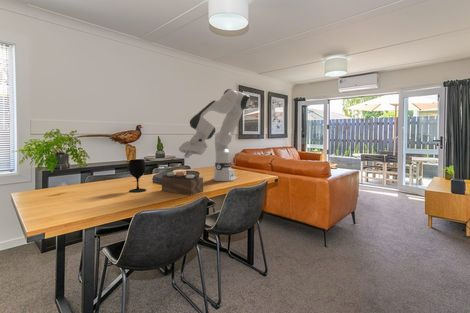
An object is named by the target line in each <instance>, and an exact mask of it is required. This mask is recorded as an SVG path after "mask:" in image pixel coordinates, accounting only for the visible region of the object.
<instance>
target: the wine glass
mask: <svg viewBox="0 0 470 313" xmlns="http://www.w3.org/2000/svg"><path fill="white" fill-rule="evenodd" d="M146 169H147V165H146V161H145V159H143V158H141V159H139V158H137V159H130V160H129V162H128V172H129V174H130V175H131V176H132V177H133V178H135V179H136V180H135V181H136V188H132V189H129V192H130V193H133V194H134V193H143V192H146V191H147V189H146V188H140V186H139V180H140V178H141V177H143V176H144V174H145V172H146Z"/></svg>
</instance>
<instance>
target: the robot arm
mask: <svg viewBox="0 0 470 313" xmlns="http://www.w3.org/2000/svg"><path fill="white" fill-rule="evenodd" d="M251 100H252V98H251V96H250V95H248V94H247V93H243V92H242V91H238V90H235V89H231V88H227V89H226V90H225V91H224V92H223V94H222V96H221V97H220V98H219V99H218V100H212V101H210V102H209V103H208V104H207V105H206V106H205V107H203V108H202V109H201V110H200V111H199V112H198V113H196V114H194V115H193V116H192V117H191V118H190V120H189V126H190V127H191V128H192V129H193V130H195V131H196V132H195V133H194V135H193V136H192V137H191V138H190V140H189V141H188V140H187V141H184V142H183V143H182V144H181V145H180V146H179V147H178V151H179V152H180V153H182V154H184V155H183V157H184V158H186V159H189V158H190V157H191V156H192V155H200V156H201V155H202V156H203V154H204V153H205V151H206V149H207V148H208V144H207V143H206V140H211V139H212V137H213V136H214V149H215V162H214V170H213V176H212V180H213V181H216V182H233V181H235V180H237V179H239V178H238V176H236V172H235V170H234V169H233V168H232V167H231V166H232V165H233V162H230V157H231V156H230V147H229V144H231V142H232V139H233V136H234V134H235V131H236V128H237V126H238V123H239V122H240V119H241V117H242V114H243V111H244V110H245V109H248V107H250V105H251V103H252V102H251ZM209 112H216V113H218V114H222V115H224V114H225V117H224V119H223V121H222V124H221V127H220V130H219V131H217V132H216V127H215V126H214V125H213V124H212V123H211V122H210V121H208V120H207V119H205V118H204V116H205V115H206V114H208V113H209Z"/></svg>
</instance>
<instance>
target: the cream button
mask: <svg viewBox="0 0 470 313" xmlns="http://www.w3.org/2000/svg"><path fill="white" fill-rule="evenodd" d="M185 176H186V178H190V179H191V178H194V177H195V175H194V174H185Z"/></svg>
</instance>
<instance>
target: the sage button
mask: <svg viewBox="0 0 470 313" xmlns="http://www.w3.org/2000/svg"><path fill="white" fill-rule="evenodd" d="M166 175H167V176H175V175H176V173H175V172H167V173H166Z"/></svg>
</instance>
